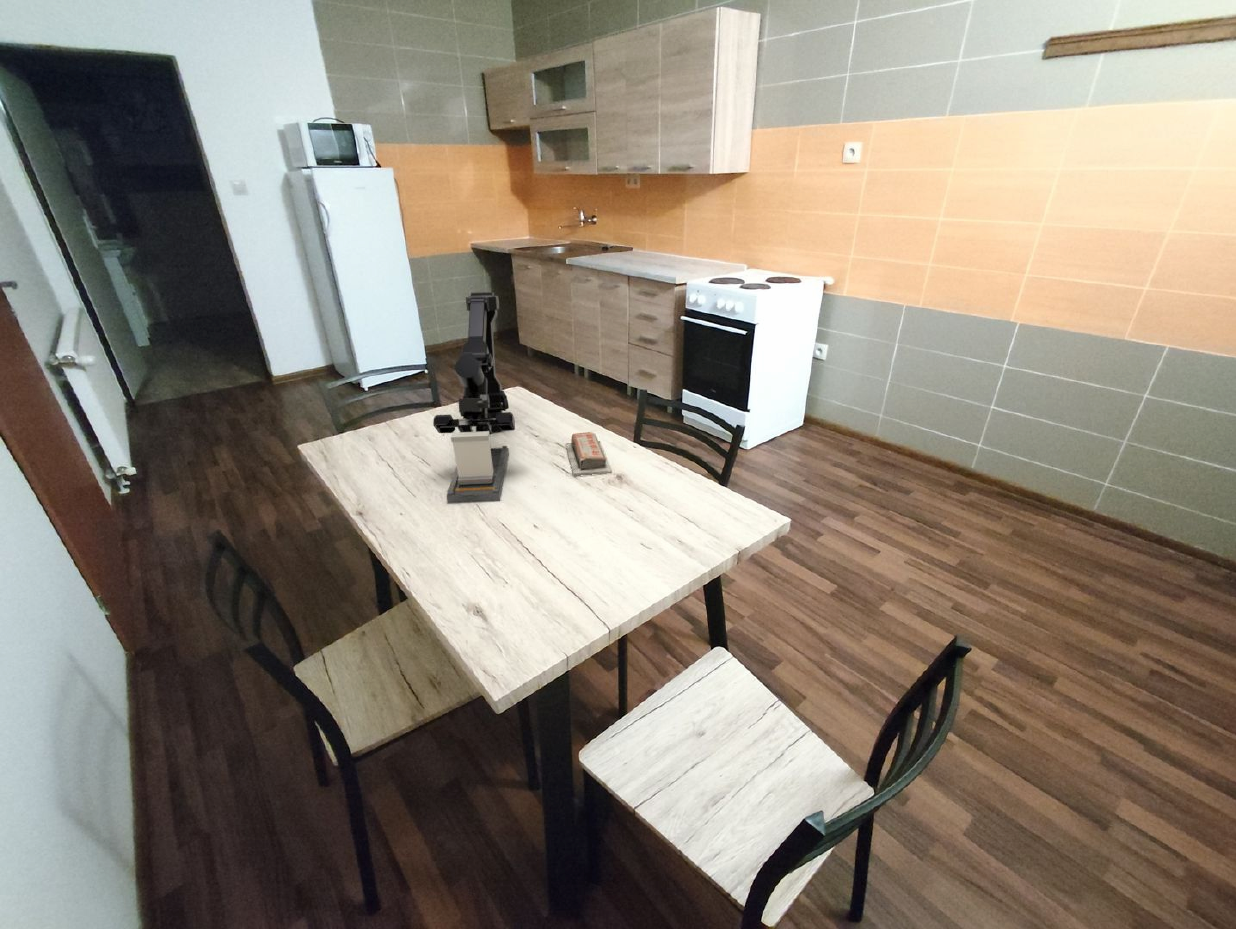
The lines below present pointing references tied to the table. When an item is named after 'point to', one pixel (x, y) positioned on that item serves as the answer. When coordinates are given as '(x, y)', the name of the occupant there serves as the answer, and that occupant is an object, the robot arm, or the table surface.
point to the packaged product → (587, 455)
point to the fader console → (481, 490)
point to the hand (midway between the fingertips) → (474, 456)
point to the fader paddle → (473, 457)
